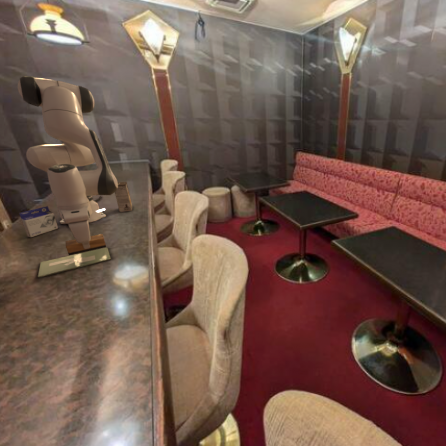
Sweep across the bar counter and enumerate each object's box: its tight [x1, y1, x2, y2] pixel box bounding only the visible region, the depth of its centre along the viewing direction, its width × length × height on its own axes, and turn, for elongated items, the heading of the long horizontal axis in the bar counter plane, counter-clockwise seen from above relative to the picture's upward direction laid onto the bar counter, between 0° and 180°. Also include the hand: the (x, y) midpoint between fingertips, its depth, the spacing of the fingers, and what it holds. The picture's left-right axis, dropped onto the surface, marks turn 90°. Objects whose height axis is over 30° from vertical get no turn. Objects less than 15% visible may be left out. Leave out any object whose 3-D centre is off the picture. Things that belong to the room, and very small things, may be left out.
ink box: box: [18, 205, 59, 238], centre depth 114 cm, size 12×2×12 cm, turn 168°
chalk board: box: [37, 247, 112, 278], centre depth 93 cm, size 12×20×1 cm, turn 131°
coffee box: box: [114, 181, 133, 213], centre depth 147 cm, size 9×6×16 cm
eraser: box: [65, 233, 107, 256], centre depth 94 cm, size 5×11×4 cm, turn 131°
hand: (86, 245), depth 94 cm, fingers closed on eraser, 5 cm apart
